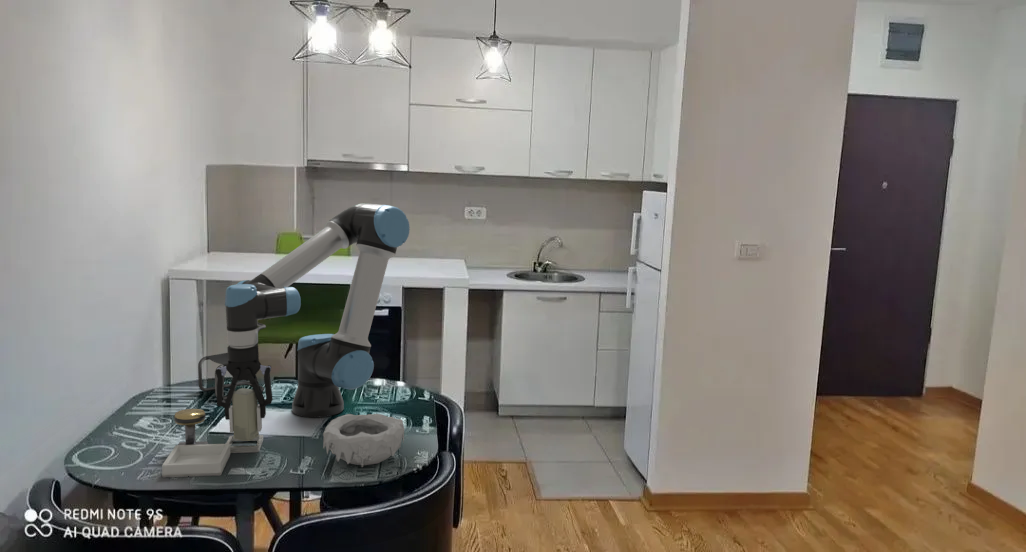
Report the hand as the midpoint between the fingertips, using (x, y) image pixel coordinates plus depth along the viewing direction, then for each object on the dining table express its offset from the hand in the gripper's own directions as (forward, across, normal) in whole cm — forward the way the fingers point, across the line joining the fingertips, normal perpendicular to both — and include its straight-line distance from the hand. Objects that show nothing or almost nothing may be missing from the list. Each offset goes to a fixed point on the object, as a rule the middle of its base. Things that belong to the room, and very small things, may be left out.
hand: (246, 430), depth 200 cm
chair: (+5, +12, -49) cm, 50 cm away
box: (+2, 0, 0) cm, 2 cm away
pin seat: (+4, +1, 0) cm, 4 cm away
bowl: (+5, -30, +12) cm, 33 cm away
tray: (+4, +10, +12) cm, 16 cm away
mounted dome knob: (+4, +14, +1) cm, 14 cm away
